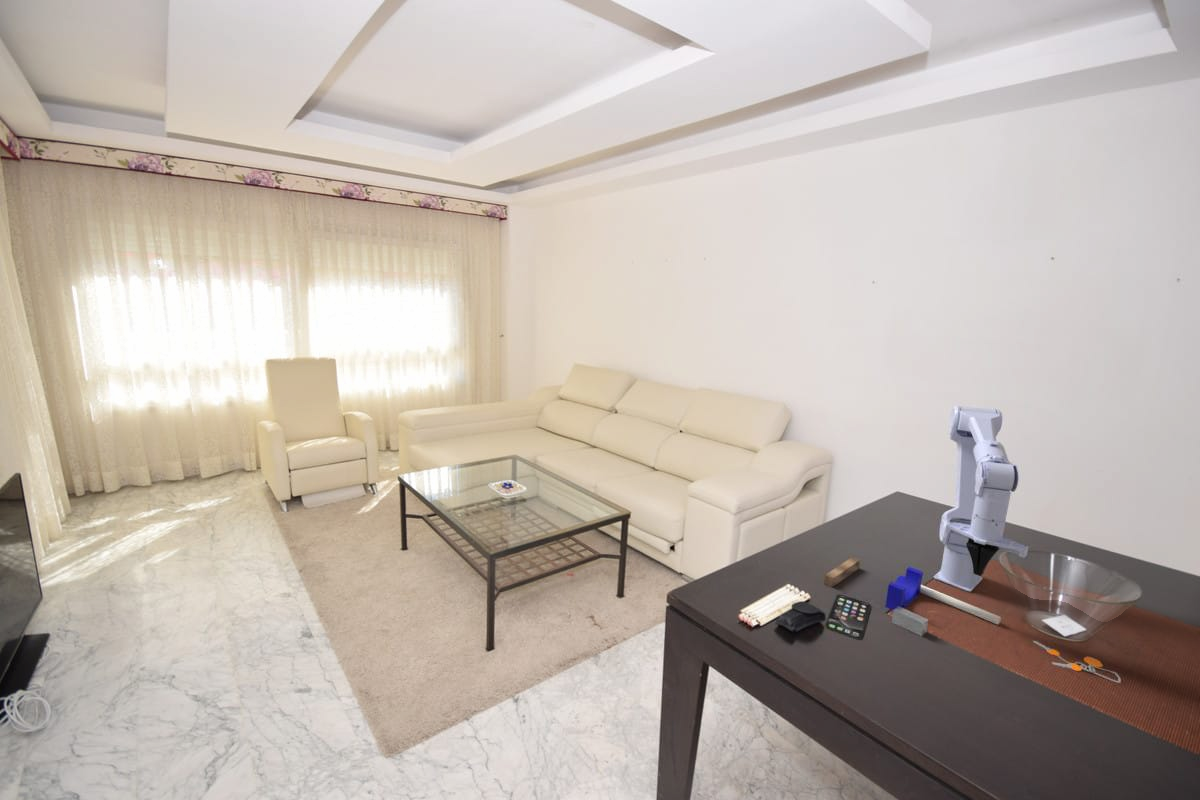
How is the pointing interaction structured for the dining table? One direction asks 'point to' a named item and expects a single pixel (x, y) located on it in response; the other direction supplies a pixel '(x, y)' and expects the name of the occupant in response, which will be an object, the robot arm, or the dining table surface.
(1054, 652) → the key chain
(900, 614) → the grey rectangular block
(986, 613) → the white rod
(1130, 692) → the dining table surface
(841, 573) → the bar
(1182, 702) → the dining table surface
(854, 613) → the smartphone
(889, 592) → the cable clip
